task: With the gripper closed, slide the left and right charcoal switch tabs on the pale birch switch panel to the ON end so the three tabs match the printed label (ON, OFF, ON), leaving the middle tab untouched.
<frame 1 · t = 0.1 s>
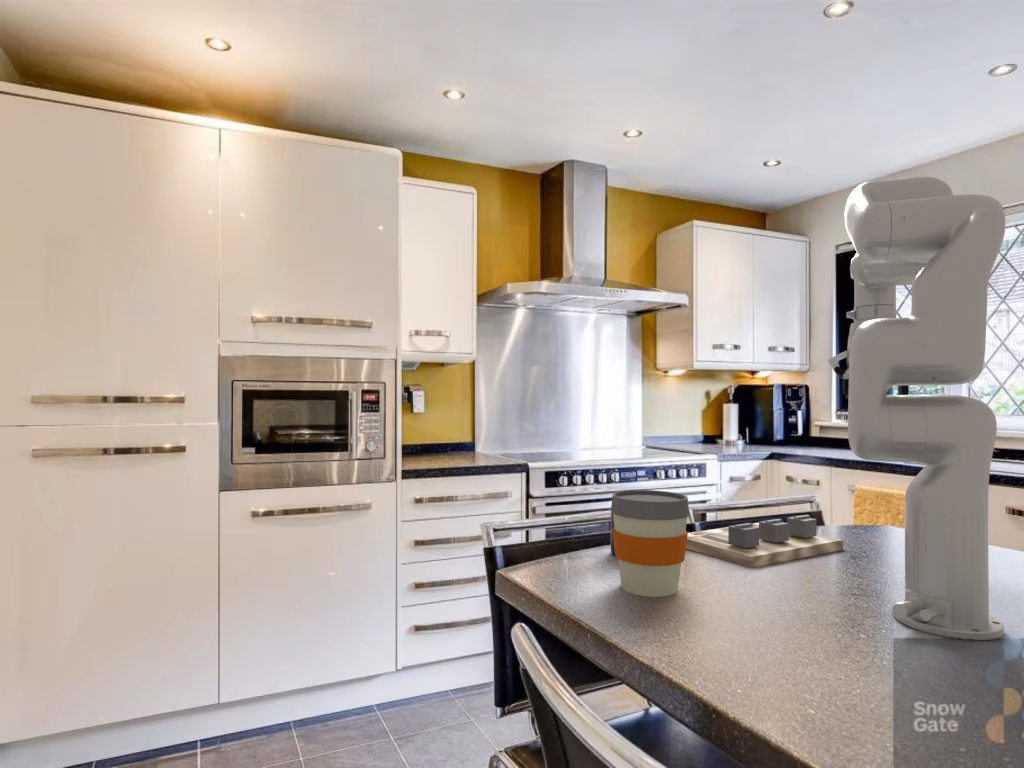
hand: (875, 398, 129), 31 cm above the kitchen island, tool pointing down, fingers open, 9 cm apart
switch panel: (757, 547, 129), on the kitchen island
switch tab 3: (801, 525, 130), point 4 cm above the kitchen island, slide at 0.0 cm
switch tab 2: (773, 530, 126), point 4 cm above the kitchen island, slide at 0.0 cm
reusable coffee cup: (649, 589, 101), on the kitchen island
switch tab 1: (743, 534, 121), point 4 cm above the kitchen island, slide at 0.0 cm
supplement bottle: (628, 555, 122), on the kitchen island
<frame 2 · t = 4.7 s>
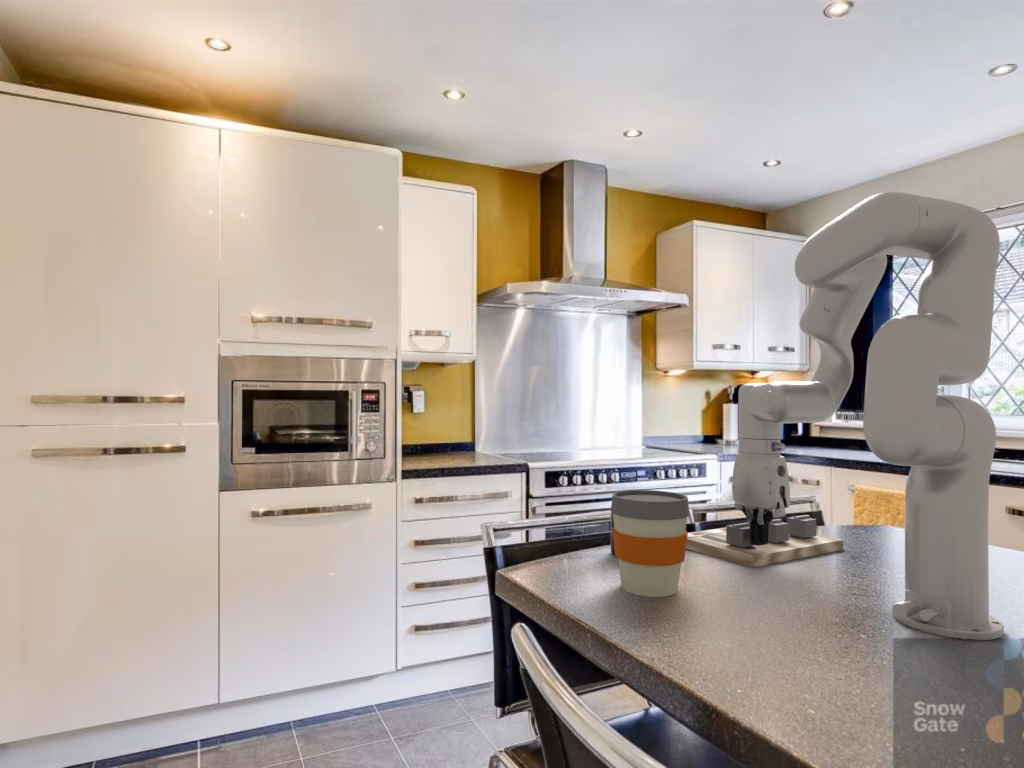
hand: (759, 543, 118), 3 cm above the kitchen island, tool pointing down, fingers closed
switch tab 1: (741, 534, 122), point 4 cm above the kitchen island, slide at 0.6 cm, touching gripper
everything else where it was.
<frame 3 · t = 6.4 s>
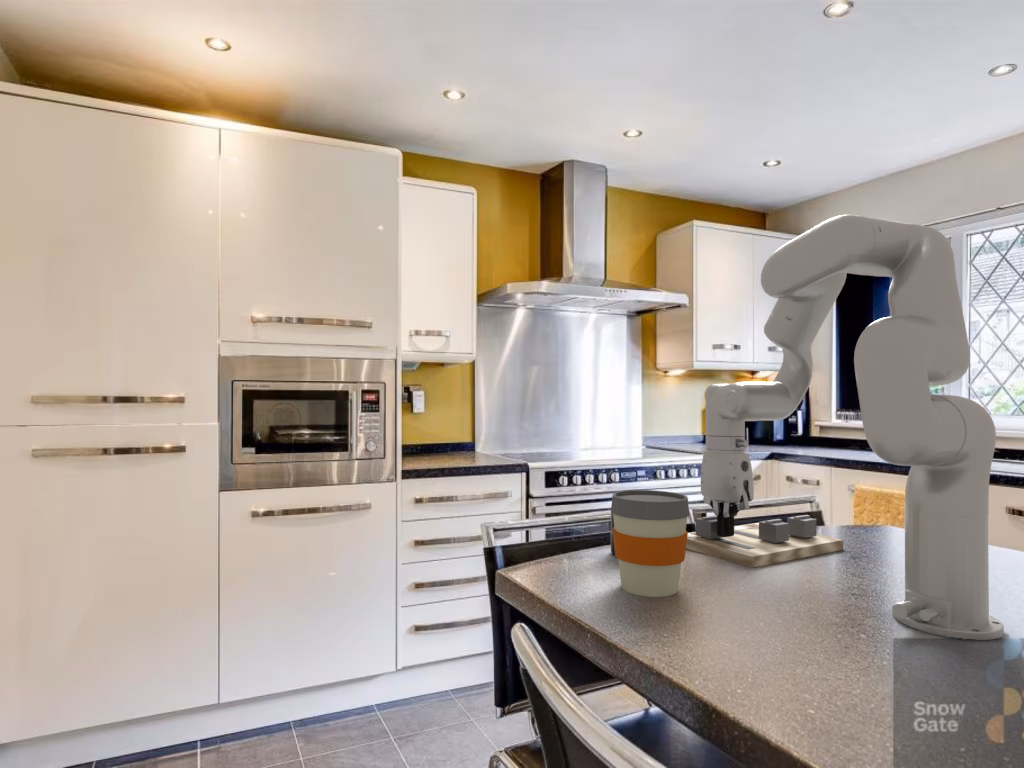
hand: (725, 535, 125), 3 cm above the kitchen island, tool pointing down, fingers closed
switch tab 1: (709, 526, 128), point 4 cm above the kitchen island, slide at 8.5 cm, touching gripper
everything else where it was.
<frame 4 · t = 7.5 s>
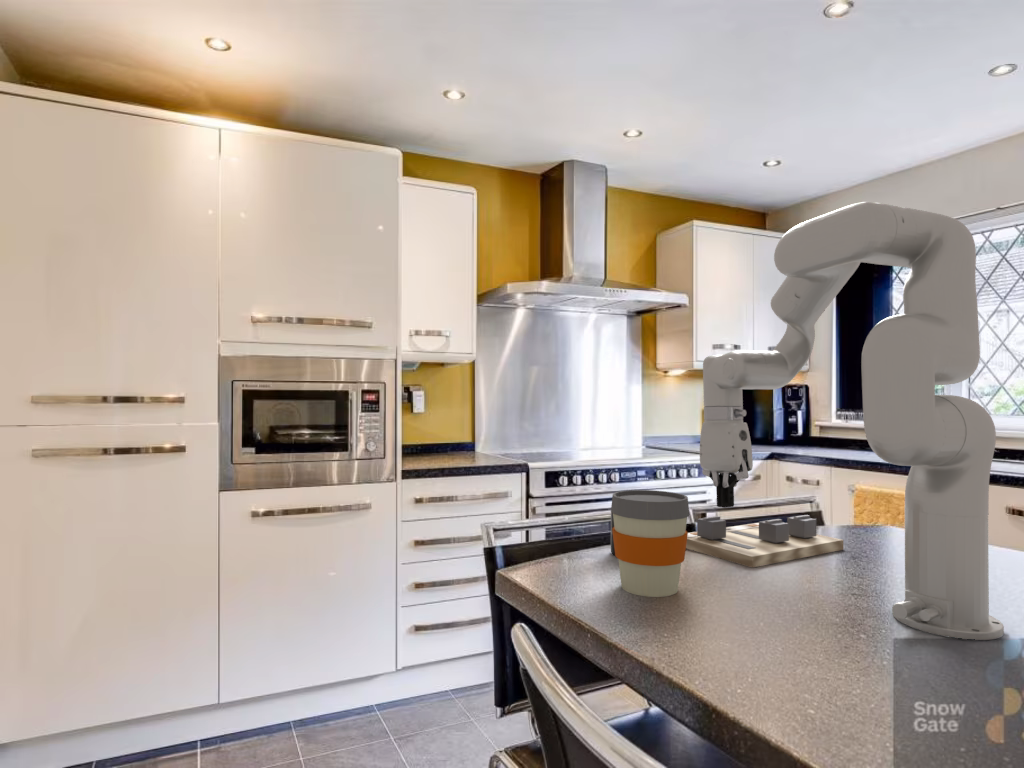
hand: (725, 506, 125), 9 cm above the kitchen island, tool pointing down, fingers closed
switch tab 1: (711, 526, 128), point 4 cm above the kitchen island, slide at 8.1 cm
everything else where it was.
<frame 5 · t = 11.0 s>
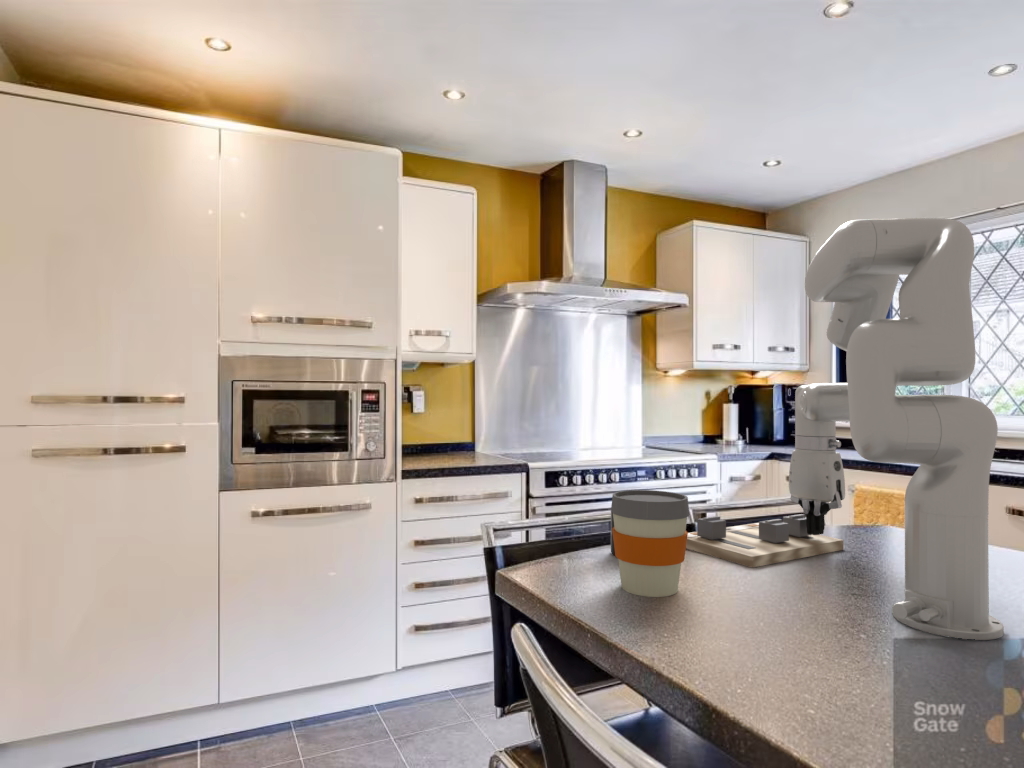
hand: (815, 533, 127), 3 cm above the kitchen island, tool pointing down, fingers closed
switch tab 3: (797, 524, 131), point 4 cm above the kitchen island, slide at 1.0 cm, touching gripper
everything else where it was.
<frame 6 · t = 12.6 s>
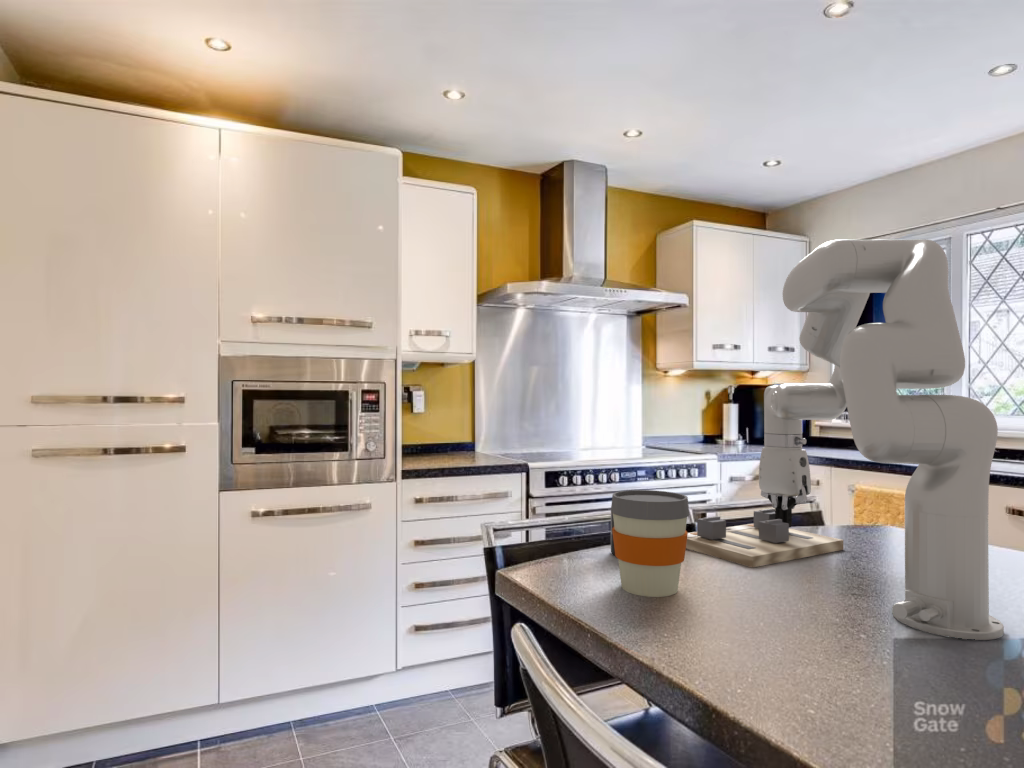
hand: (783, 526, 134), 3 cm above the kitchen island, tool pointing down, fingers closed
switch tab 3: (767, 518, 137), point 4 cm above the kitchen island, slide at 8.4 cm, touching gripper
everything else where it was.
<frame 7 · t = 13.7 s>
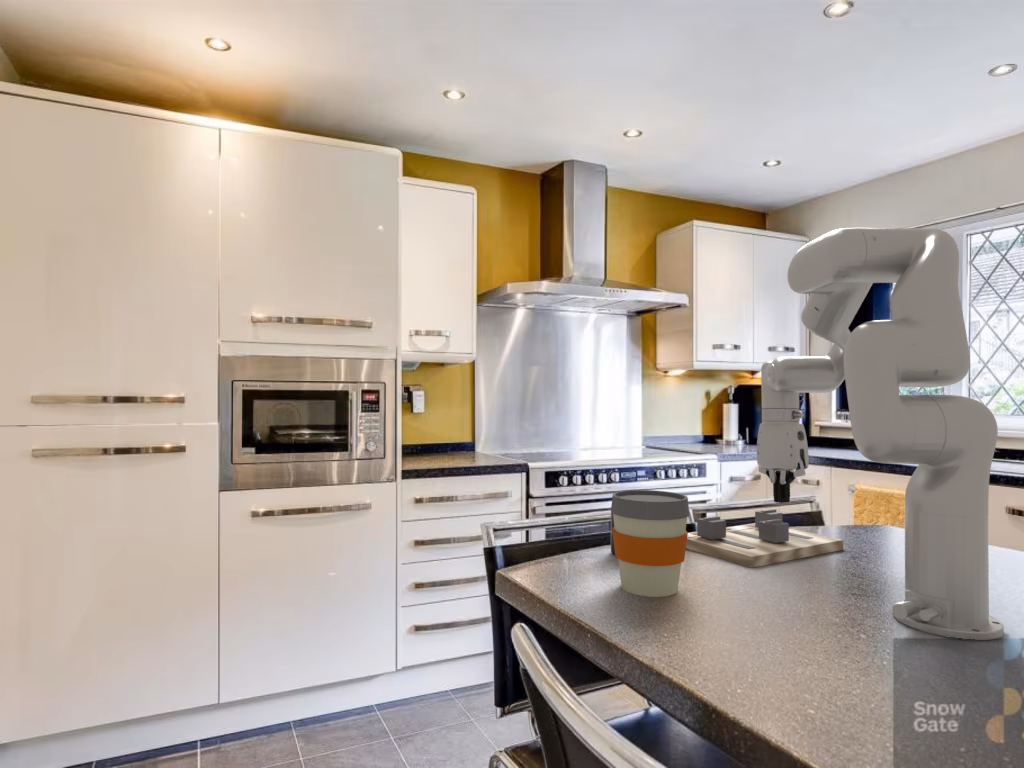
hand: (781, 501, 134), 9 cm above the kitchen island, tool pointing down, fingers closed
switch tab 3: (768, 518, 137), point 4 cm above the kitchen island, slide at 8.1 cm
everything else where it was.
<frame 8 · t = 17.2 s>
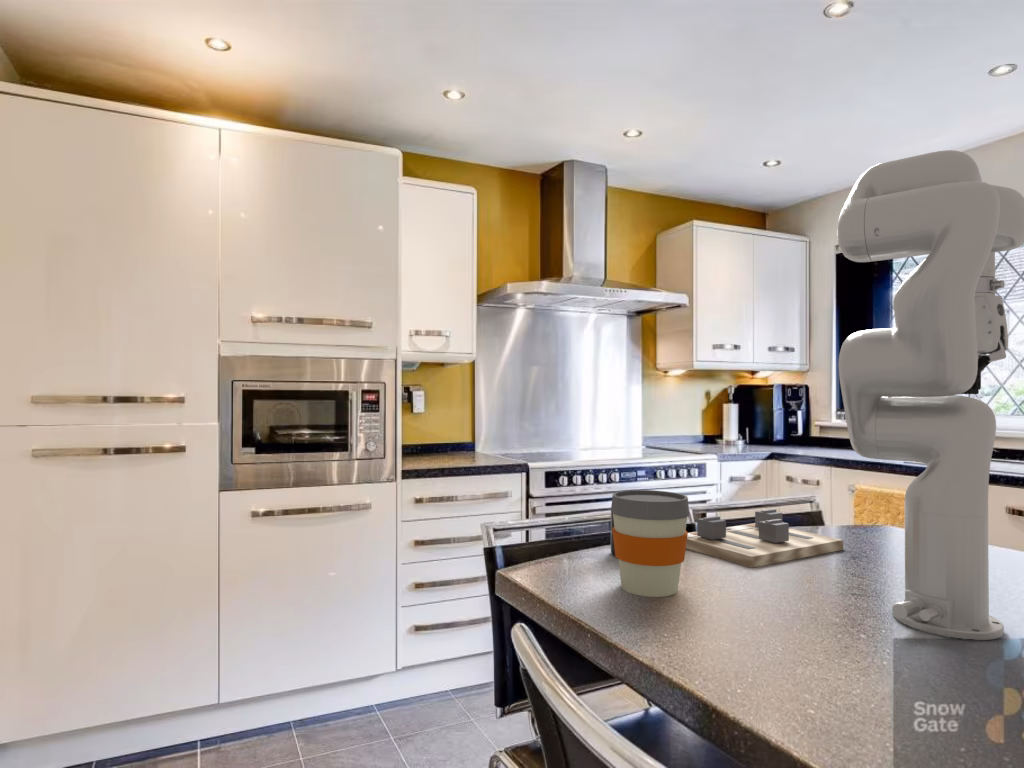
hand: (969, 393, 110), 32 cm above the kitchen island, tool pointing down, fingers closed
nothing on the kitchen island moved.
at the end: switch tab 1 slide at 8.1 cm; switch tab 3 slide at 8.1 cm; switch tab 2 slide at 0.0 cm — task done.
